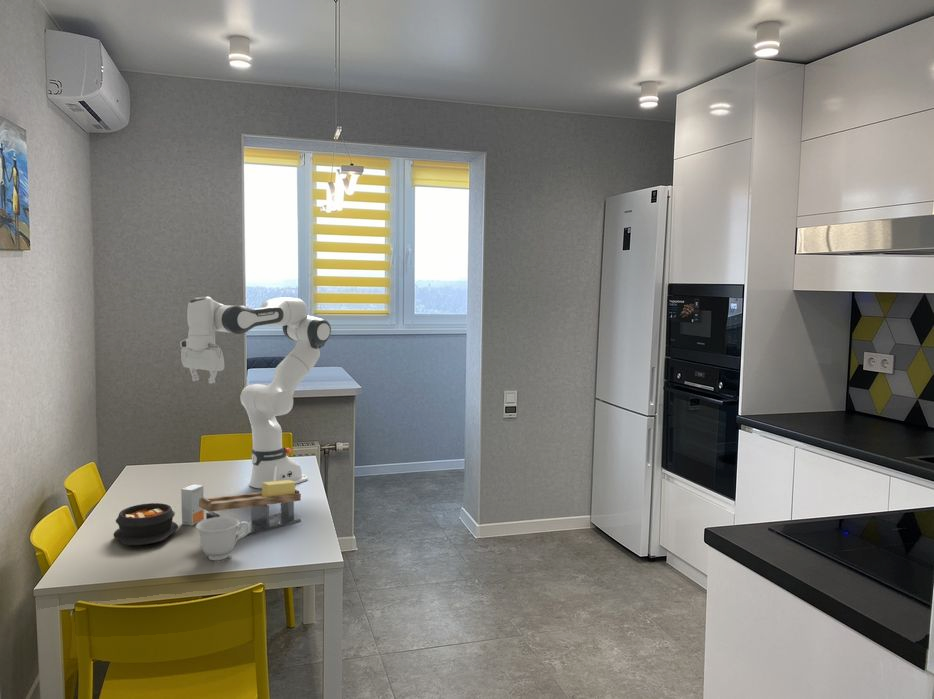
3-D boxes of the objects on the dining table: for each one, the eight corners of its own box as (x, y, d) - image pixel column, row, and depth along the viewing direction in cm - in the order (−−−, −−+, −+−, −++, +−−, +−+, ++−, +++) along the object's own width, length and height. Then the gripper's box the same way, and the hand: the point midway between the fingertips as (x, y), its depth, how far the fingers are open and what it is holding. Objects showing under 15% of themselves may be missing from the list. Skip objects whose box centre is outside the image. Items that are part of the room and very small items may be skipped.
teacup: (250, 561, 206) (249, 527, 205) (195, 566, 202) (194, 532, 201) (250, 545, 218) (249, 513, 217) (198, 551, 213) (197, 518, 212)
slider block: (288, 492, 243) (289, 479, 243) (294, 495, 240) (295, 482, 240) (261, 495, 236) (262, 482, 236) (267, 498, 233) (268, 485, 233)
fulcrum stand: (285, 514, 246) (284, 491, 245) (300, 521, 239) (300, 498, 238) (200, 536, 225) (199, 511, 224) (215, 544, 218) (214, 519, 217)
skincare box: (192, 526, 234) (190, 490, 233) (181, 524, 236) (180, 488, 235) (204, 520, 240) (203, 485, 239) (194, 518, 241) (193, 483, 240)
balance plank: (289, 495, 245) (290, 487, 245) (300, 500, 240) (301, 491, 240) (198, 506, 222) (199, 496, 222) (208, 511, 218) (209, 502, 217)
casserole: (177, 546, 217) (176, 519, 216) (109, 554, 210) (108, 527, 209) (179, 519, 240) (178, 495, 239) (117, 526, 234) (116, 501, 233)
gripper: (228, 343, 248) (229, 383, 250) (192, 340, 260) (194, 378, 262) (212, 345, 243) (214, 385, 245) (177, 342, 255) (179, 380, 256)
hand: (203, 381), depth 253 cm, fingers open, 8 cm apart
